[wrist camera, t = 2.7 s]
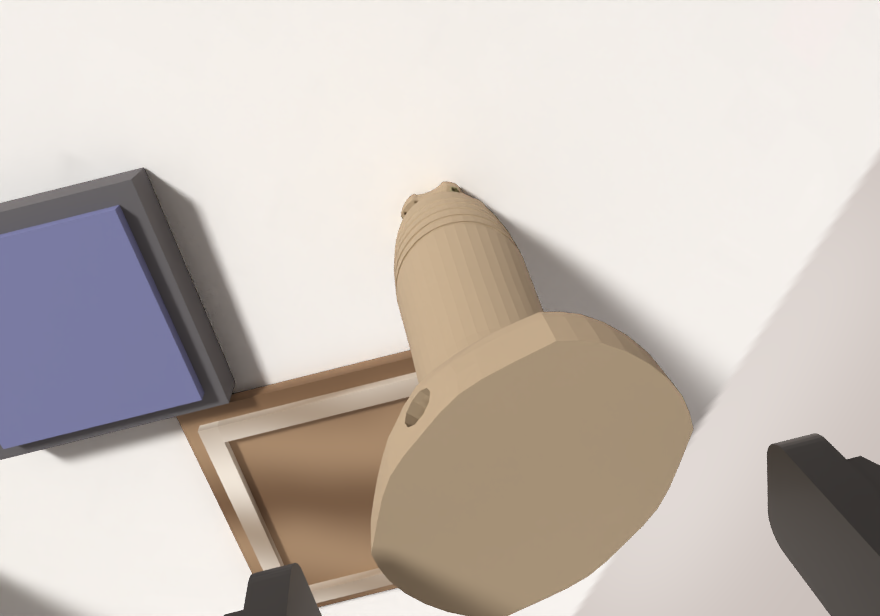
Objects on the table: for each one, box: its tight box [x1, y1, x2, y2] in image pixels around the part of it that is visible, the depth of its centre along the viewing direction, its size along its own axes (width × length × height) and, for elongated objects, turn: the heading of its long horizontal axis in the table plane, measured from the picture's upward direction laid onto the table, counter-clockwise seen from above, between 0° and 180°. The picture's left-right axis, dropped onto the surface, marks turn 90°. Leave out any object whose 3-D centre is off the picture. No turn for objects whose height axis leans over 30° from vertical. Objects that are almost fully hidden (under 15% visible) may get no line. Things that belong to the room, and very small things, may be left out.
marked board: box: [176, 350, 419, 607], centre depth 31 cm, size 12×12×1 cm
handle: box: [371, 182, 693, 616], centre depth 19 cm, size 5×6×15 cm
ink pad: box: [0, 168, 235, 460], centre depth 25 cm, size 9×9×2 cm
